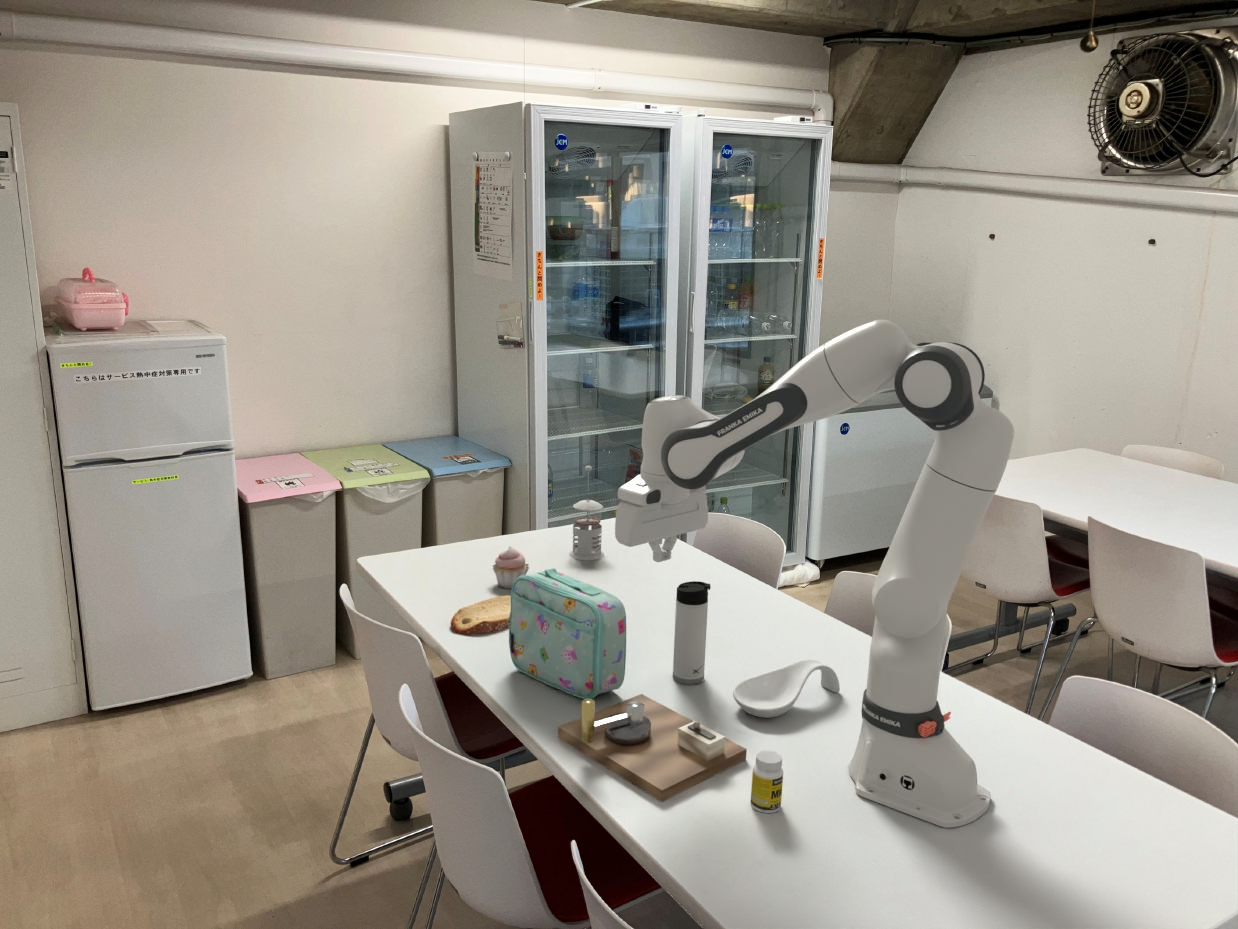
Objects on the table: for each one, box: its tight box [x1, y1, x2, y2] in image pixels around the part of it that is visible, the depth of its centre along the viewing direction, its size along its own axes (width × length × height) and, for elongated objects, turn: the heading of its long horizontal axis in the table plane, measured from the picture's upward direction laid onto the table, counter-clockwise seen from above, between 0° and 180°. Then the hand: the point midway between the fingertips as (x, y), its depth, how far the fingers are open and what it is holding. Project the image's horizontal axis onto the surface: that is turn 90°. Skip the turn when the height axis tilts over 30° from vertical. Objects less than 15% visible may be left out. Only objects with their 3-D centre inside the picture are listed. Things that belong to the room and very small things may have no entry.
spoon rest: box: [732, 659, 841, 719], centre depth 188 cm, size 24×12×7 cm, turn 125°
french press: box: [568, 465, 605, 561], centre depth 269 cm, size 10×12×25 cm
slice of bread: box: [450, 595, 511, 636], centre depth 224 cm, size 18×18×4 cm
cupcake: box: [491, 545, 530, 589], centre depth 245 cm, size 9×9×10 cm
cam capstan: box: [581, 698, 651, 746], centre depth 168 cm, size 13×8×8 cm, turn 122°
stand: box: [557, 693, 747, 803], centre depth 170 cm, size 26×20×6 cm
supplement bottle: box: [750, 750, 784, 814], centre depth 153 cm, size 5×5×8 cm
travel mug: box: [672, 580, 711, 685], centre depth 195 cm, size 6×7×20 cm
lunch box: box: [508, 567, 627, 700], centre depth 193 cm, size 27×10×21 cm, turn 47°
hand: (661, 560), depth 178 cm, fingers closed
